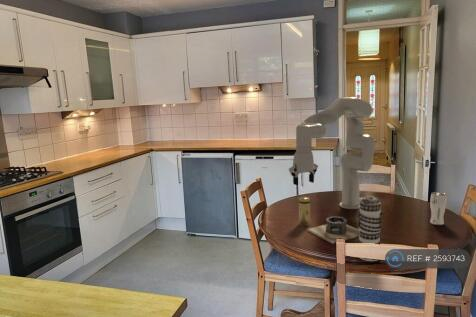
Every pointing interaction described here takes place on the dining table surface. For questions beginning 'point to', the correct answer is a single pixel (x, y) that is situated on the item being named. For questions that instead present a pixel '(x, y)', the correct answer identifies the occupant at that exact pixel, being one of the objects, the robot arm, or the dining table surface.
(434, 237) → the dining table surface
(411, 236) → the dining table surface
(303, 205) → the gold cylinder
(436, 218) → the beer glass
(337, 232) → the ring
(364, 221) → the decorative candle
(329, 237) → the board
